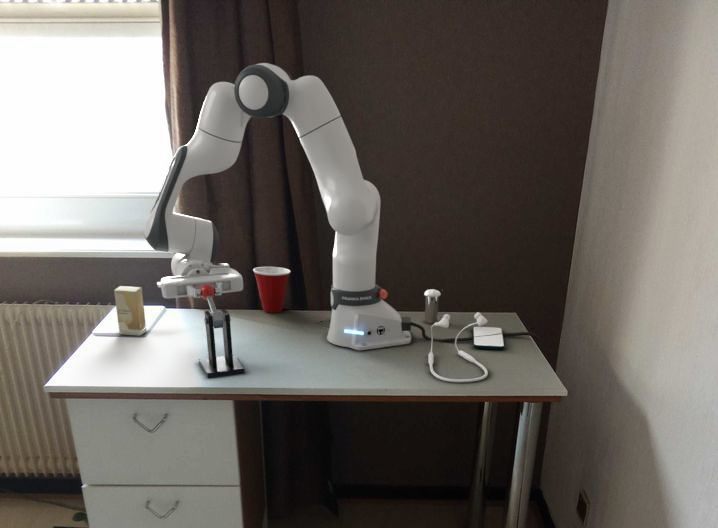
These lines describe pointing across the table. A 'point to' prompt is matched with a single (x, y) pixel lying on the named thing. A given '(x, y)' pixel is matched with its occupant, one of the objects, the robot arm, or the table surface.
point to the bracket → (229, 361)
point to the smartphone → (488, 338)
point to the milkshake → (431, 305)
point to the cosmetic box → (130, 310)
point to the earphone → (445, 323)
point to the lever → (212, 305)
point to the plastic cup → (272, 287)
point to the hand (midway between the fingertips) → (208, 293)
